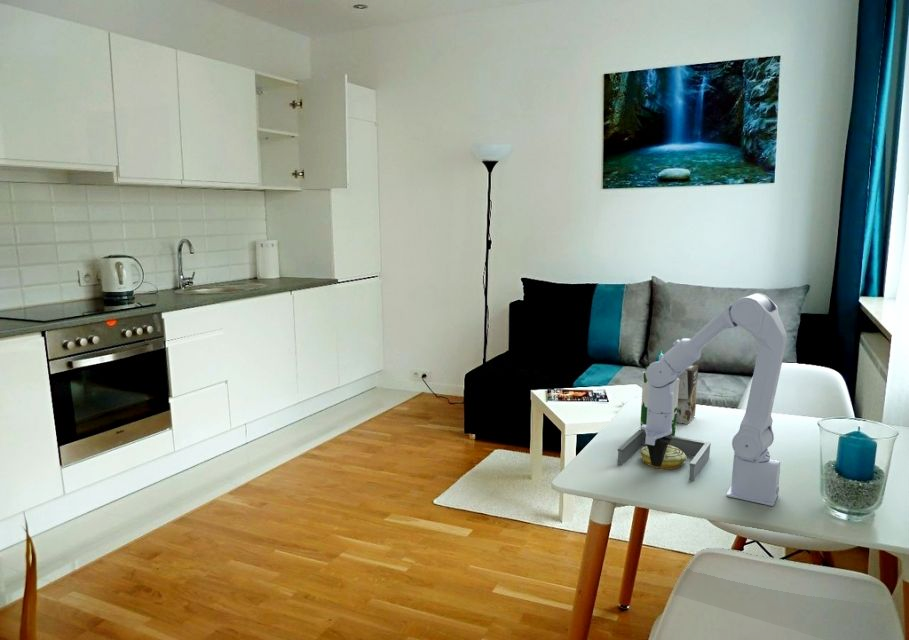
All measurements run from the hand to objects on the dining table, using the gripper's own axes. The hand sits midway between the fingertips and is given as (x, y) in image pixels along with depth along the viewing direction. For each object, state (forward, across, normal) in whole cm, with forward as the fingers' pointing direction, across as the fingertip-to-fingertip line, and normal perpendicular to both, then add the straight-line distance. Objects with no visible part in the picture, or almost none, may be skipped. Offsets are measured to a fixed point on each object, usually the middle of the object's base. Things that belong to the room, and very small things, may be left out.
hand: (656, 465), depth 163 cm
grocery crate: (+1, -6, 0) cm, 7 cm away
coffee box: (+2, -44, -5) cm, 45 cm away
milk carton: (+2, -22, -6) cm, 23 cm away
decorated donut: (+2, -6, 0) cm, 7 cm away
